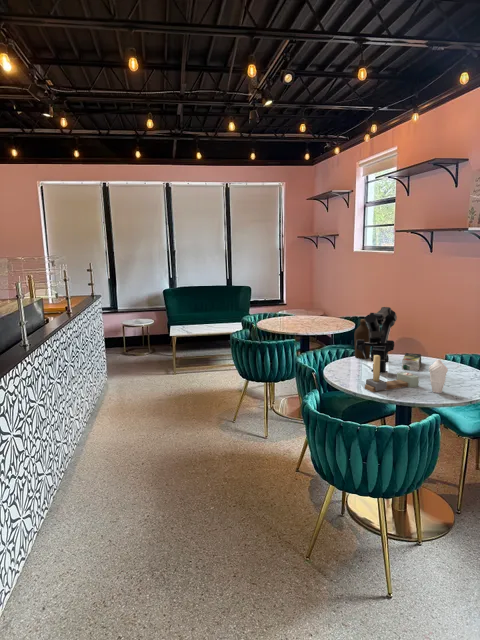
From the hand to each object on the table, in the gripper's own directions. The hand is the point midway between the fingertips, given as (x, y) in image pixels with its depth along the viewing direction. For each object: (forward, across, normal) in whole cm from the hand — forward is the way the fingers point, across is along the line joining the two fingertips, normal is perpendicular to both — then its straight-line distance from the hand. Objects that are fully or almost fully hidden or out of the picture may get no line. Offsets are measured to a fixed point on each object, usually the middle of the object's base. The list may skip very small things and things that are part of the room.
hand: (375, 358), depth 215 cm
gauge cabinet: (+8, +16, +12) cm, 21 cm away
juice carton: (-19, +24, +39) cm, 49 cm away
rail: (+13, +5, +6) cm, 15 cm away
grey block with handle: (+15, 0, +4) cm, 16 cm away
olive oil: (-32, -4, +51) cm, 60 cm away
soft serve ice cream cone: (+15, +28, +5) cm, 32 cm away
